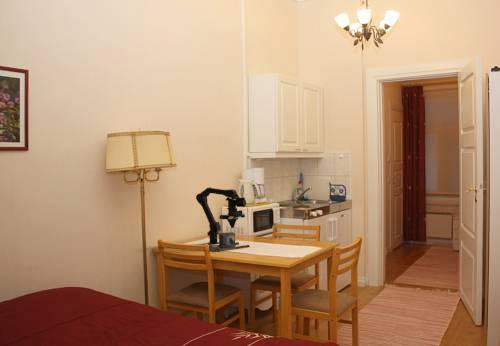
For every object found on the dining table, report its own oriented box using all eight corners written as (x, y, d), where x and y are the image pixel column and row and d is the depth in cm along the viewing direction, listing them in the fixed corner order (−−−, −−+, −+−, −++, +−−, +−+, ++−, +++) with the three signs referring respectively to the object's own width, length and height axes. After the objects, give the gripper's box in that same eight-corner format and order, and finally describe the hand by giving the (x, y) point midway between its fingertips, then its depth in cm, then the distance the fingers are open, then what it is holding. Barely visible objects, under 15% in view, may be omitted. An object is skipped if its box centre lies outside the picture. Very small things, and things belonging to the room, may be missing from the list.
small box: (221, 249, 324) (220, 234, 324) (218, 248, 330) (218, 233, 330) (235, 248, 327) (235, 233, 327) (233, 246, 334) (232, 232, 333)
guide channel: (205, 248, 329) (205, 244, 328) (238, 244, 343) (238, 240, 343) (216, 251, 316) (215, 247, 316) (249, 247, 331) (249, 242, 331)
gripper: (226, 208, 331) (227, 230, 332) (248, 206, 342) (249, 227, 342) (218, 207, 341) (219, 228, 341) (240, 205, 351) (241, 226, 351)
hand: (232, 227), depth 343 cm, fingers closed
